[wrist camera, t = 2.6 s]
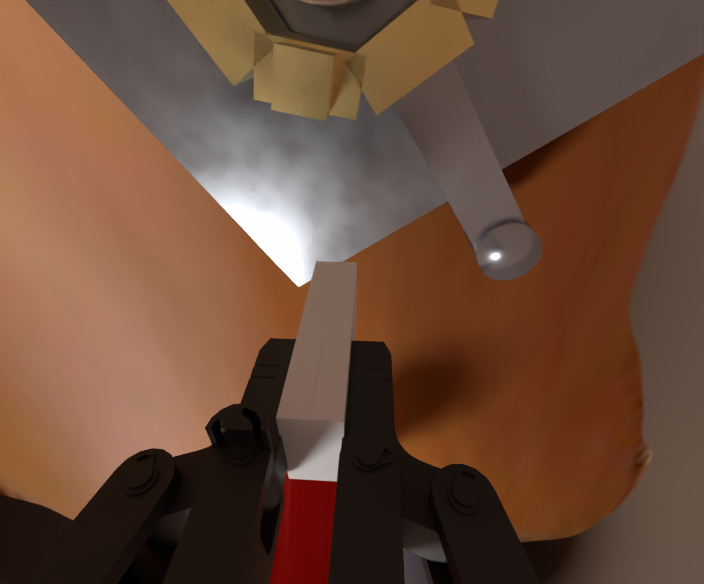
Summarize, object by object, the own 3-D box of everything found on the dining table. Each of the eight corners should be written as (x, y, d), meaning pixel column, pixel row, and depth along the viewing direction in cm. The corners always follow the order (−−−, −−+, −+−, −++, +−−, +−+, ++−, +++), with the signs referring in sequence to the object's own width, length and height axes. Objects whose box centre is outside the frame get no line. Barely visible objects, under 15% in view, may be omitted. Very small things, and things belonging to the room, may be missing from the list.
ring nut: (112, -134, 12) (-35, -223, 8) (387, -563, 8) (408, -1265, 4) (412, 282, 22) (422, 346, 18) (603, 185, 18) (678, 238, 14)
